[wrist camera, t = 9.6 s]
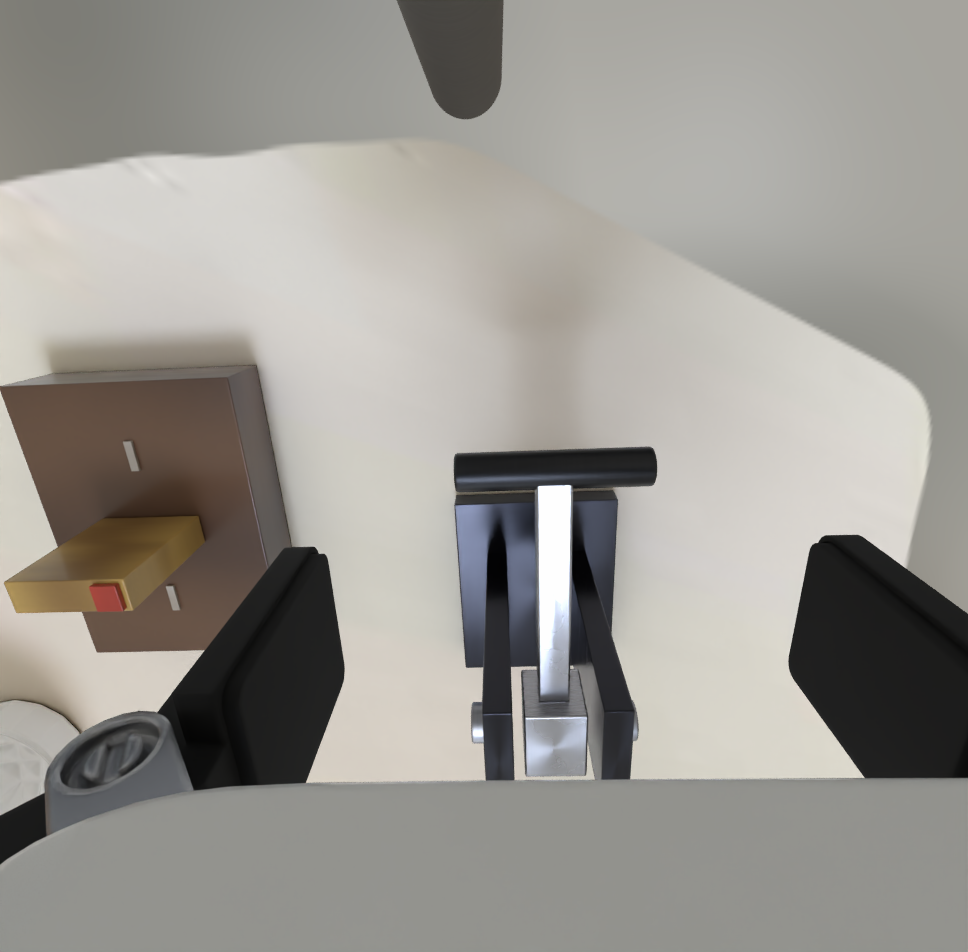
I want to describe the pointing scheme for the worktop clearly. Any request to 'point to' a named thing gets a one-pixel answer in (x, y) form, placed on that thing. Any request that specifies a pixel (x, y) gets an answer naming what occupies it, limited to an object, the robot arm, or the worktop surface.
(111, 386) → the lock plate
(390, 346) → the worktop surface
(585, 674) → the handle bracket
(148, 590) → the tall mustard panel
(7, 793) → the white cup
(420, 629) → the worktop surface
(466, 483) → the door lever
